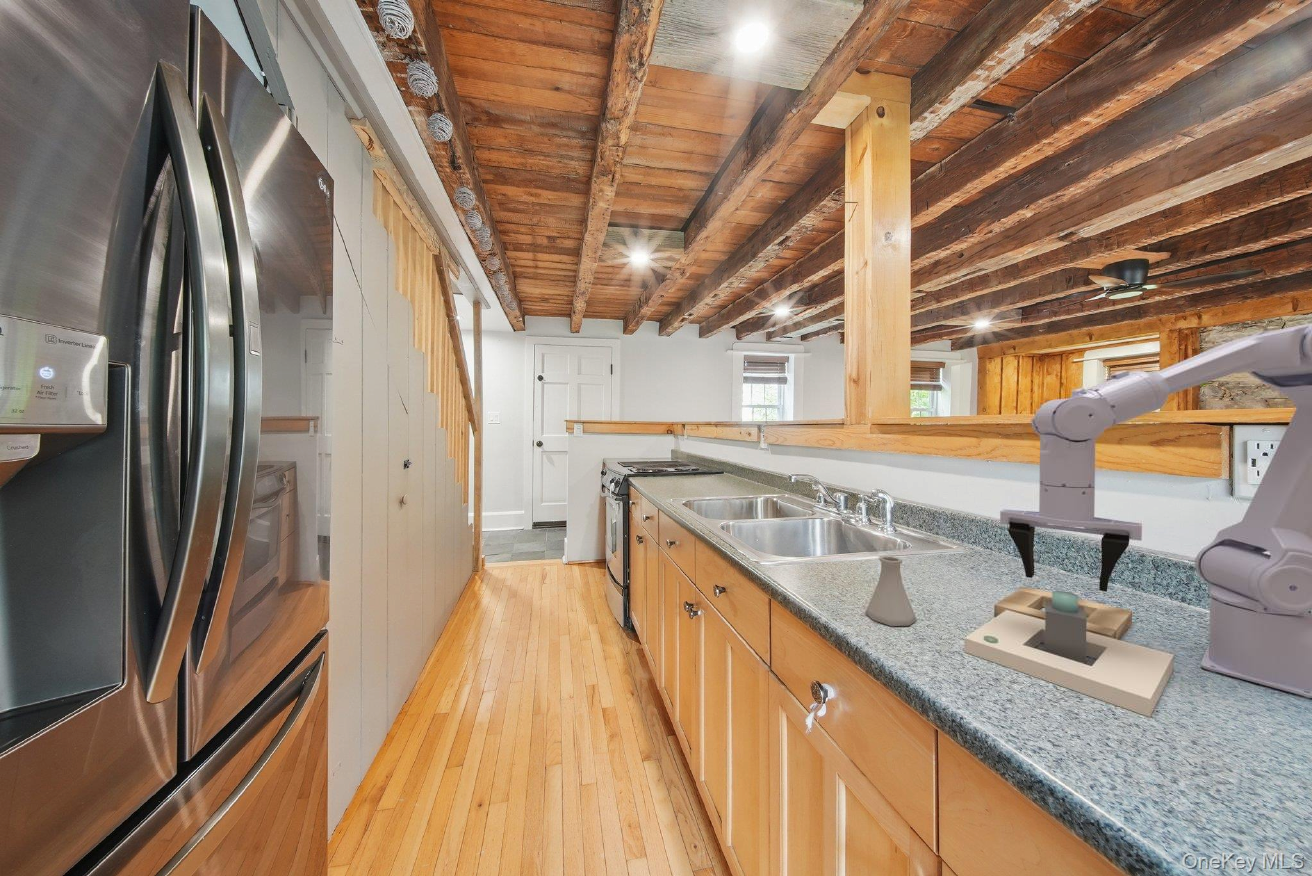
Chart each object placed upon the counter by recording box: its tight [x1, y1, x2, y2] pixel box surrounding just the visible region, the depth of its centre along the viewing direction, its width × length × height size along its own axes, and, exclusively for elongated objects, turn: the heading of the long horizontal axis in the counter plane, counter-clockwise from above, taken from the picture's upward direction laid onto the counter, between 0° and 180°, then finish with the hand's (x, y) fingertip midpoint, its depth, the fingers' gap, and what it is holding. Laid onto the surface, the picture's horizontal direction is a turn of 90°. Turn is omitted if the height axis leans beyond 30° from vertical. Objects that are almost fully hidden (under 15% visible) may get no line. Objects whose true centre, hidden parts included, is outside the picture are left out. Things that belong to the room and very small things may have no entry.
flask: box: [864, 555, 918, 627], centre depth 76 cm, size 7×7×10 cm
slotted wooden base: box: [993, 585, 1133, 640], centre depth 75 cm, size 14×14×2 cm
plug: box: [1044, 590, 1087, 665], centre depth 62 cm, size 4×5×9 cm
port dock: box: [963, 610, 1175, 718], centre depth 62 cm, size 18×16×2 cm
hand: (1065, 582), depth 64 cm, fingers open, 7 cm apart
